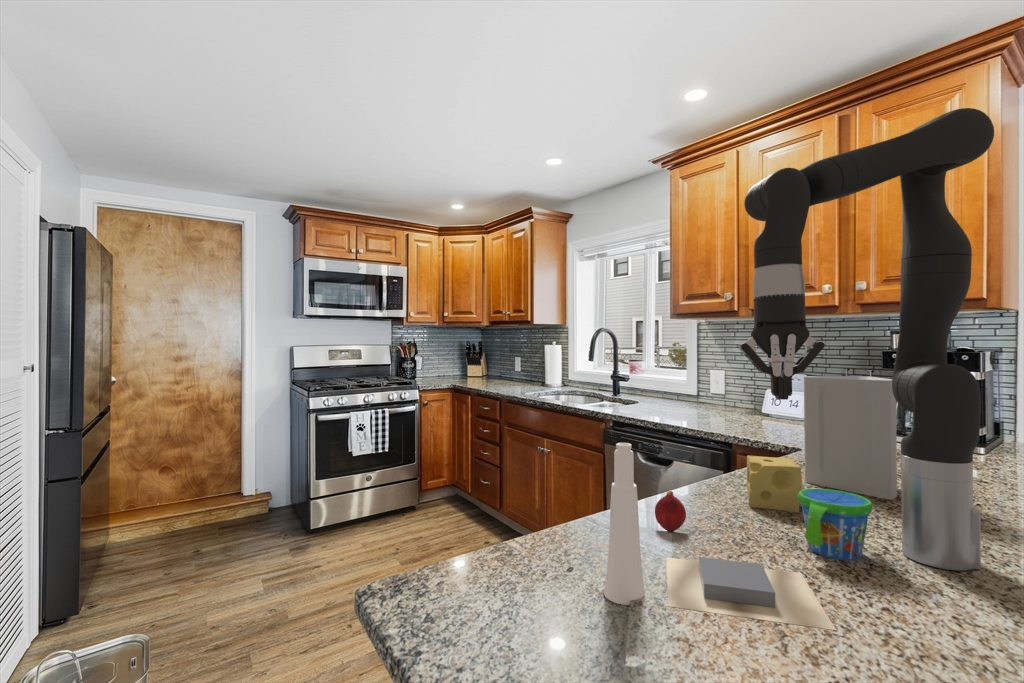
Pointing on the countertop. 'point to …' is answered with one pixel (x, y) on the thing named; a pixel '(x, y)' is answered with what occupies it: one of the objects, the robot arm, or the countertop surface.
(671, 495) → the onion
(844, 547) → the snack cup
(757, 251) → the robot arm
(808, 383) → the white grooved panel
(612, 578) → the cosmetic bottle
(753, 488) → the cheese
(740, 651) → the countertop surface
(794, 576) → the board
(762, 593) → the block
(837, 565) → the countertop surface
